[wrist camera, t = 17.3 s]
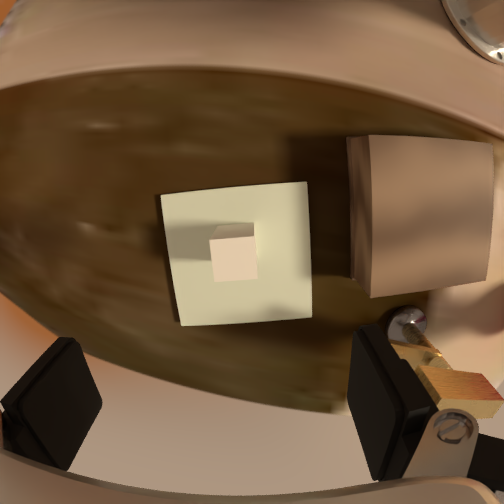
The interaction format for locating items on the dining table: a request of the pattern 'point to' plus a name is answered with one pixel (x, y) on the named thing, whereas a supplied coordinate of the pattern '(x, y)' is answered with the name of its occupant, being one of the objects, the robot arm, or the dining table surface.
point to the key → (447, 377)
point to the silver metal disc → (404, 322)
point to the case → (419, 212)
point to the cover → (240, 253)
